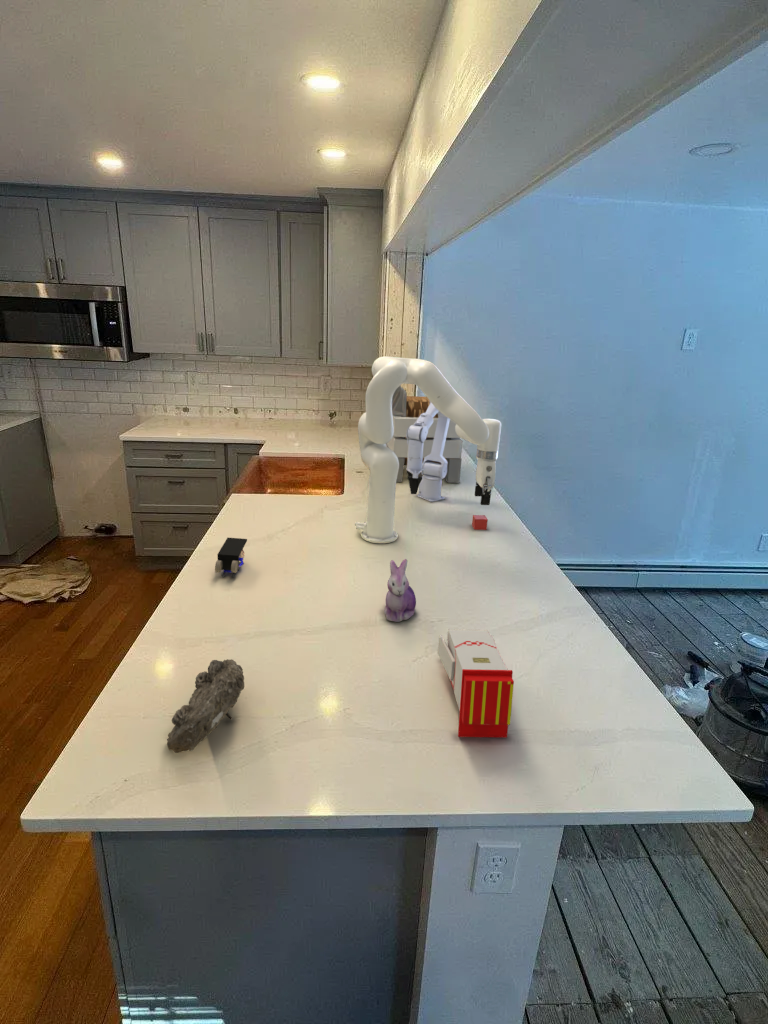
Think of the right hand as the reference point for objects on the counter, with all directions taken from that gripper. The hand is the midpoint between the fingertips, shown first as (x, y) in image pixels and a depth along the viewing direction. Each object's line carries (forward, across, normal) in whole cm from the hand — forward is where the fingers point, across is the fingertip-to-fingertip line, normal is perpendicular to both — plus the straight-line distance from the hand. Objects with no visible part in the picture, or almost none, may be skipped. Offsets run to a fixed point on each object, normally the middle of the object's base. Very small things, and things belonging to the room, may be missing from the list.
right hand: (413, 490), depth 221 cm
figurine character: (+8, -58, +57) cm, 81 cm away
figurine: (+8, -81, +8) cm, 82 cm away
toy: (+8, -112, -5) cm, 112 cm away
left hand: (-2, -16, -24) cm, 29 cm away
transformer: (+8, +54, -7) cm, 56 cm away
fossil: (+8, -121, +46) cm, 130 cm away
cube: (+8, -16, -24) cm, 30 cm away
